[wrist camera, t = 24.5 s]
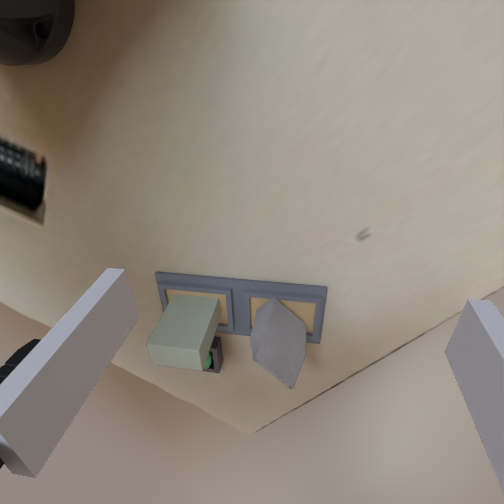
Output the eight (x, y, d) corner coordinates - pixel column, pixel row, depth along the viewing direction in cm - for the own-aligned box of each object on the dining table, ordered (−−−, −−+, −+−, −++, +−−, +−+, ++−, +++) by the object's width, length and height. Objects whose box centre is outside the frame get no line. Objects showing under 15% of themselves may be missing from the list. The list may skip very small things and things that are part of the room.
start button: (194, 356, 57) (190, 368, 55) (192, 342, 55) (187, 353, 53) (214, 359, 56) (210, 370, 54) (212, 344, 54) (209, 356, 52)
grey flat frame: (167, 324, 55) (165, 329, 54) (156, 271, 49) (153, 276, 48) (319, 341, 51) (319, 347, 50) (326, 286, 45) (327, 291, 44)
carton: (177, 312, 52) (151, 364, 44) (174, 293, 50) (145, 343, 42) (220, 317, 51) (202, 371, 43) (218, 297, 49) (198, 350, 41)
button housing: (190, 357, 58) (185, 368, 56) (185, 333, 55) (180, 344, 53) (222, 361, 57) (219, 373, 55) (220, 337, 54) (216, 348, 52)
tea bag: (274, 296, 46) (265, 352, 38) (306, 324, 48) (304, 383, 40) (256, 309, 48) (244, 364, 40) (288, 335, 50) (282, 394, 42)
